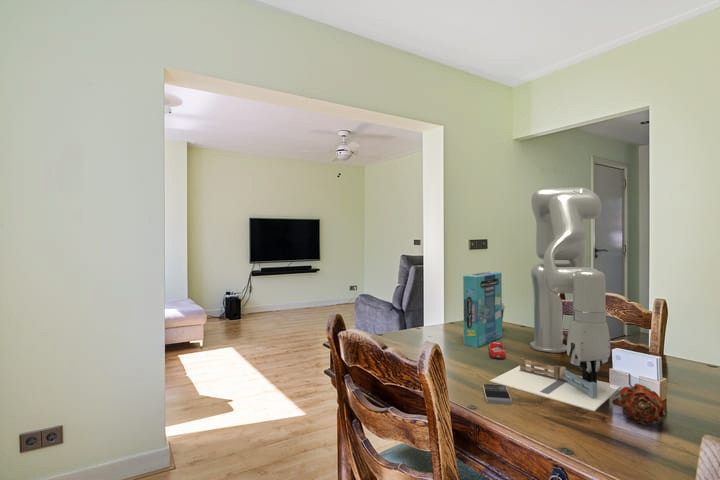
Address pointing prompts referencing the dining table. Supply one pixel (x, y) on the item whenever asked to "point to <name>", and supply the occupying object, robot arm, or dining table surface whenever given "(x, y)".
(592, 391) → the panel
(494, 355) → the race car
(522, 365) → the fence section
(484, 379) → the dining table surface
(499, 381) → the card
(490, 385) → the cell phone
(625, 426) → the dining table surface
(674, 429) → the dining table surface
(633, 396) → the dragon fruit
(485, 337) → the game box
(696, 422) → the dining table surface
